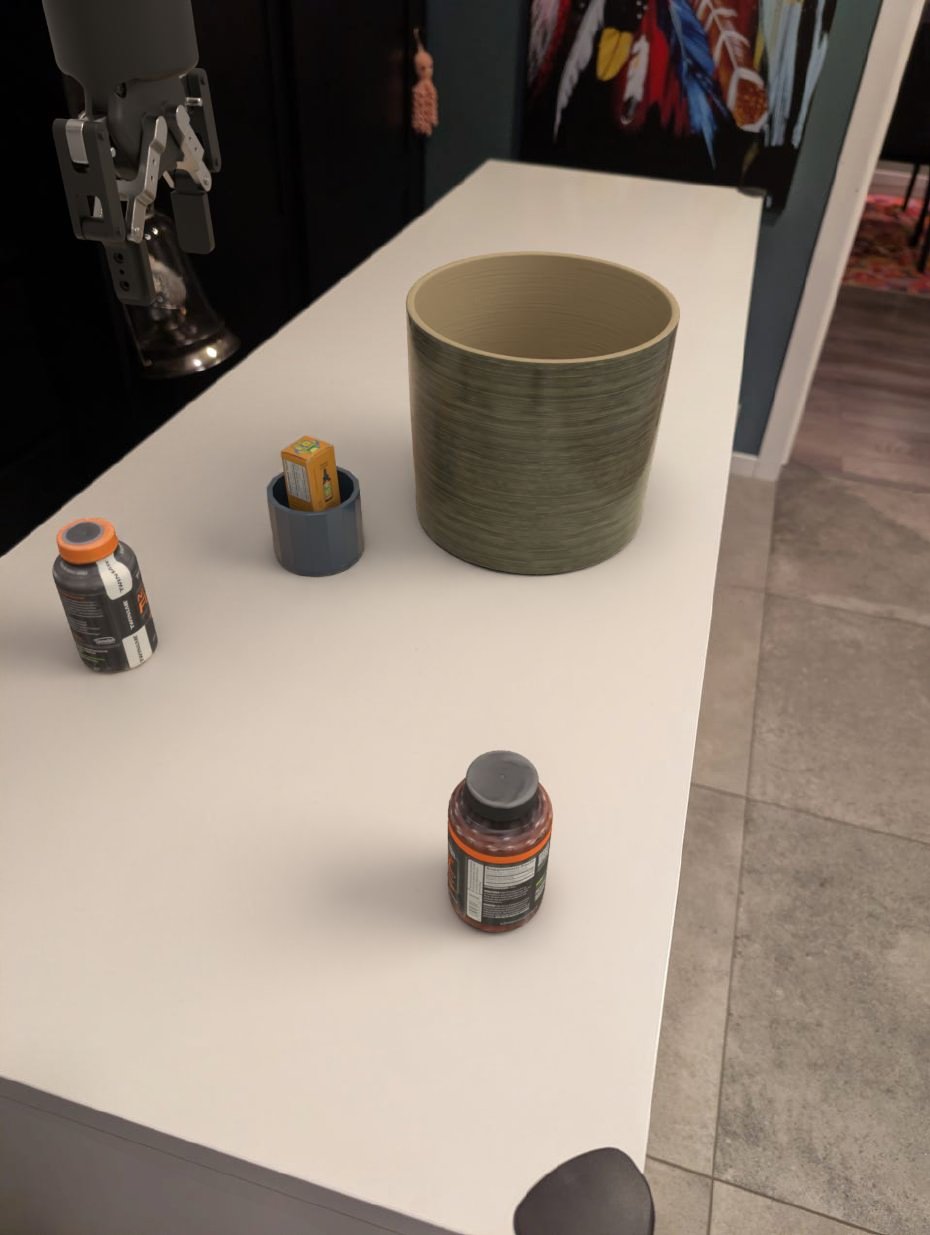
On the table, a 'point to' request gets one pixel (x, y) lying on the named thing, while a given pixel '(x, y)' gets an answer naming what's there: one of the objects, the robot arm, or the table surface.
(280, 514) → the cup
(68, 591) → the pill bottle
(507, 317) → the planter
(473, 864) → the supplement bottle
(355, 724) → the table surface
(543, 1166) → the table surface
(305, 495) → the supplement box
